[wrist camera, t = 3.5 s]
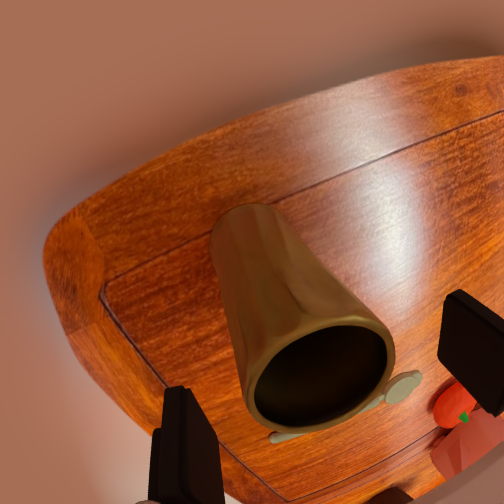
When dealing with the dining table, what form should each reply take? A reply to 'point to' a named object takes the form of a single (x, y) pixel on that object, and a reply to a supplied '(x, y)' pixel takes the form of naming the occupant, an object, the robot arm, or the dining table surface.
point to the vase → (295, 326)
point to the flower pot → (391, 497)
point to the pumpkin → (453, 406)
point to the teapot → (467, 443)
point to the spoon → (391, 394)
